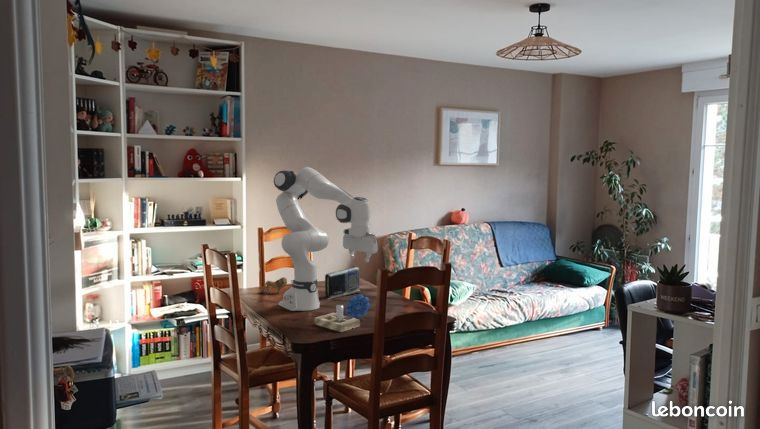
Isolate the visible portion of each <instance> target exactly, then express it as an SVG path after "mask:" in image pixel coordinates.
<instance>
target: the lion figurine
mask: <svg viewBox="0 0 760 429" xmlns="http://www.w3.org/2000/svg"><path fill="white" fill-rule="evenodd" d="M287 280H288V278H286V277H281V278H279V279H277V280H276V281H272V280H267V281H266V282H265V284H264V286H263V289H262V290H261V291H260V292H267V294H270V293H271V292H270V291H269V289H270V288H271V289H276V290H277V294H278V295H280V294H282V292H281V290H282V289H283V288H285V286H287V284H288V281H287Z"/></svg>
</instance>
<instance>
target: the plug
mask: <svg viewBox="0 0 760 429" xmlns="http://www.w3.org/2000/svg"><path fill="white" fill-rule="evenodd" d="M335 311H336V312H335V313H336V322H338V323H342V322H343V315H344V304H336V307H335Z"/></svg>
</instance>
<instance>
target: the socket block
mask: <svg viewBox="0 0 760 429" xmlns="http://www.w3.org/2000/svg"><path fill="white" fill-rule="evenodd" d="M314 325H315V326H320V327H322V328H325V329H329V330H333V331H336V332H338V333H339V332H340V333H343V332H345V331H349V330H352V328H353V329H355V328H358V327H361V319H356V318H355V317H354V318H352V317H349V315H344V314H343V322H342V323H338V322H336V312H331V313H328V314H323V315H319V316H317V317H314Z"/></svg>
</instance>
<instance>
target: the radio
mask: <svg viewBox="0 0 760 429" xmlns="http://www.w3.org/2000/svg"><path fill="white" fill-rule="evenodd" d="M324 285H325V286H324V288H325V289H324V290H325V291H324V292H325V296H324V298H326V299H327V300H331V299H336V298H340V297H344V296H351V295H355V294H360V293H361V290H360V285H361V284H360V268H359V267H357V266H355V265H353V266H352V267H348V268H344V269H341V270H340V269H339V270H336V271H333V272H328V273H326V274H325V276H324Z"/></svg>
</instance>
